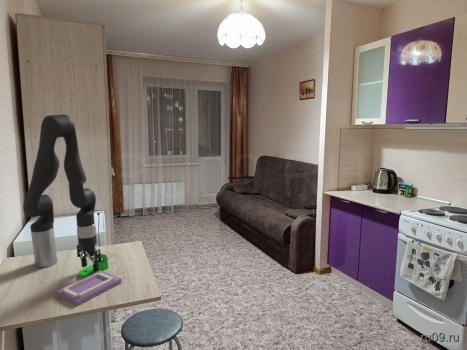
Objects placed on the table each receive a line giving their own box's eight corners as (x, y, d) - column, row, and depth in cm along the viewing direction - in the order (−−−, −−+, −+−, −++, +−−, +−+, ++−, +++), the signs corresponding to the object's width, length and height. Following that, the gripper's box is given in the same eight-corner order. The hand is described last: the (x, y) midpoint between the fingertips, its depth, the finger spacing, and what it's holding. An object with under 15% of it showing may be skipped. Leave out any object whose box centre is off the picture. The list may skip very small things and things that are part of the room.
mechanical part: (100, 265, 153) (98, 249, 151) (108, 268, 150) (107, 252, 148) (76, 276, 143) (74, 259, 141) (84, 279, 140) (82, 262, 138)
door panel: (56, 294, 128) (55, 287, 127) (100, 274, 144) (100, 267, 144) (77, 305, 120) (76, 298, 120) (121, 282, 137) (121, 275, 136)
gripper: (69, 234, 142) (73, 268, 145) (89, 240, 135) (92, 276, 138) (85, 229, 148) (88, 262, 151) (104, 234, 141) (107, 269, 144)
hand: (90, 268), depth 144 cm, fingers open, 8 cm apart
